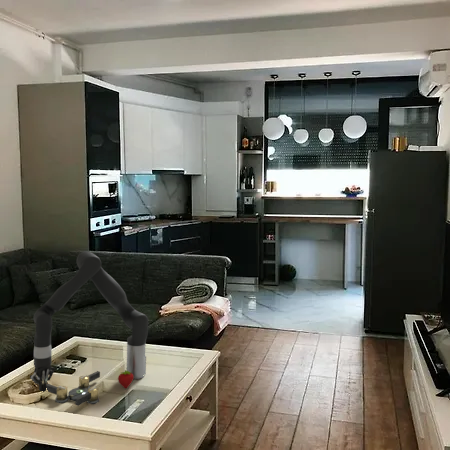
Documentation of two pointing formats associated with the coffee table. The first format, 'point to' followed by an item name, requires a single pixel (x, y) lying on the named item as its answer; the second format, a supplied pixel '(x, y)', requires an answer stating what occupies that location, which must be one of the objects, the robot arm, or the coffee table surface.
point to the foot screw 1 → (58, 391)
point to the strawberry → (125, 379)
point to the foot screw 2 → (88, 396)
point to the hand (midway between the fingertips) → (42, 391)
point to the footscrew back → (88, 379)
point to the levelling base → (76, 395)
